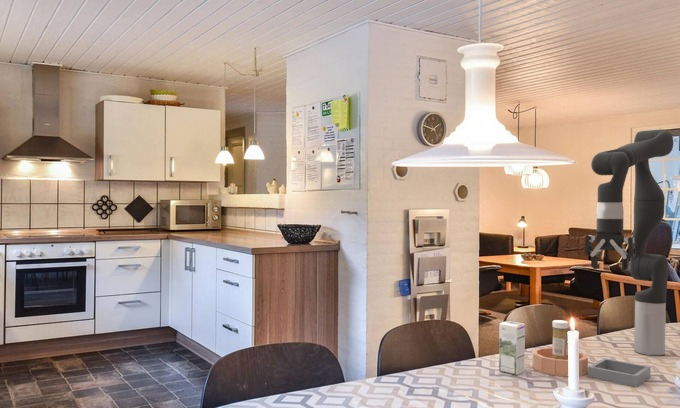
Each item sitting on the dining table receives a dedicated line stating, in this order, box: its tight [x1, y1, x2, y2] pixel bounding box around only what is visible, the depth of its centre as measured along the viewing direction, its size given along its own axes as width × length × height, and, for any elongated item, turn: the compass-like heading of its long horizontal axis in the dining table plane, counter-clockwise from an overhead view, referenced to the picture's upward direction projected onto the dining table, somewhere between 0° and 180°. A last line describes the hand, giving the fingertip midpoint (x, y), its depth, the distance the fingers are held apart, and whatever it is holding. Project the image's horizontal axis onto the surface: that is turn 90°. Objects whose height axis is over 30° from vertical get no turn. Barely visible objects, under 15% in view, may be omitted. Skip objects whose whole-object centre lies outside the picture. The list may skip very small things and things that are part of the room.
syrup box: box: [498, 320, 526, 376], centre depth 175 cm, size 6×6×14 cm
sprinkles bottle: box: [551, 319, 569, 360], centre depth 179 cm, size 5×5×14 cm
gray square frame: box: [587, 357, 652, 388], centre depth 171 cm, size 13×13×3 cm
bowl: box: [531, 346, 589, 377], centre depth 179 cm, size 15×15×4 cm
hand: (609, 269), depth 181 cm, fingers open, 8 cm apart
